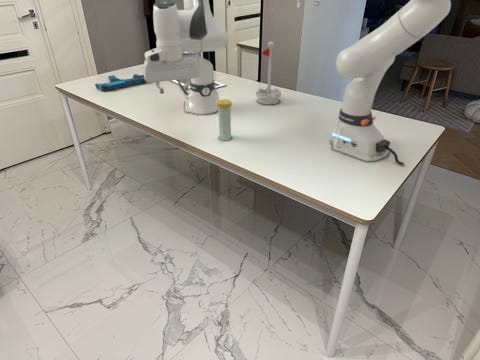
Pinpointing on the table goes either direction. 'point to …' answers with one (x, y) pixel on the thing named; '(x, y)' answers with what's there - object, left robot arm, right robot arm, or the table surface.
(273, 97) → the flag stand
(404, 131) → the table surface
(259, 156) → the table surface
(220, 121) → the pale green cylinder
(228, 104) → the lid
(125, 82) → the submachine gun
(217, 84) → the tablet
